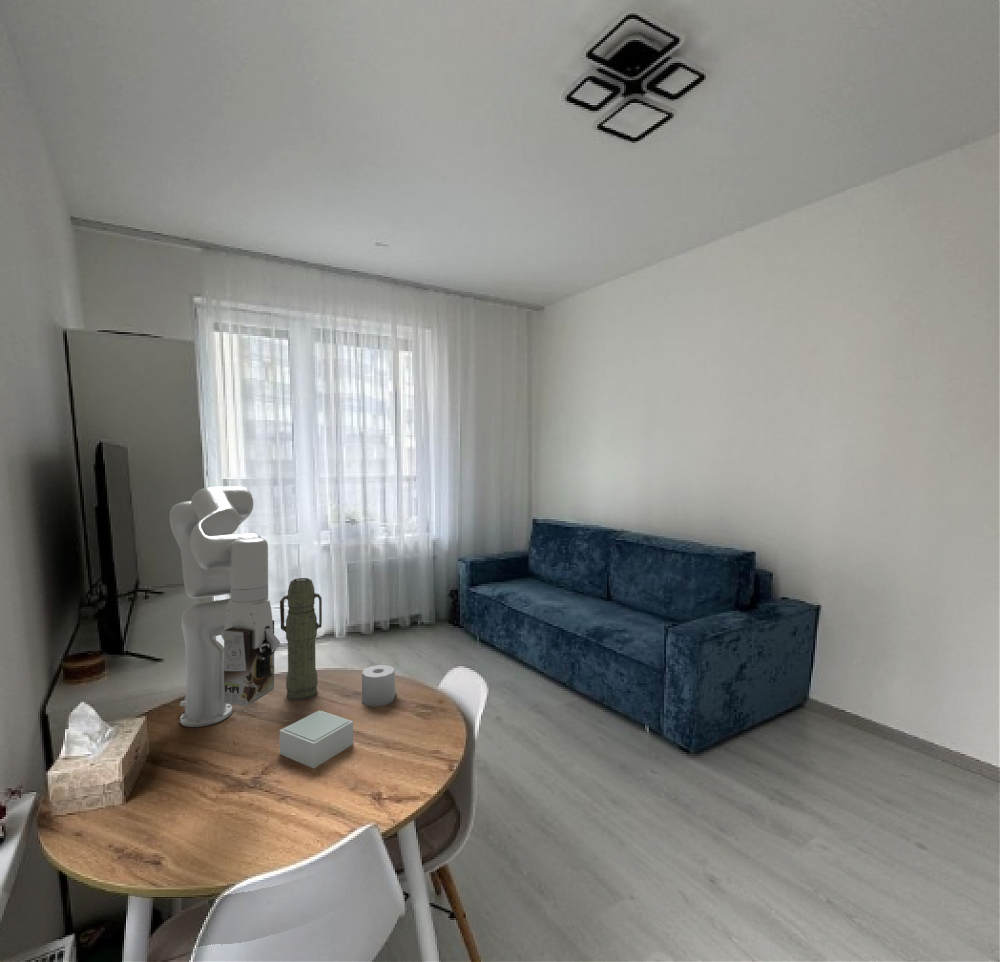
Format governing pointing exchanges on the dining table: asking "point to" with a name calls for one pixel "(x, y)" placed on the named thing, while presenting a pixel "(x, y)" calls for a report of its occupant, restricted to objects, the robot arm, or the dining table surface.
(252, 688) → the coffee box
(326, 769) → the dining table surface
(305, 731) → the ceramic box
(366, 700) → the toilet tissue
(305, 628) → the thermos
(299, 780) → the dining table surface
